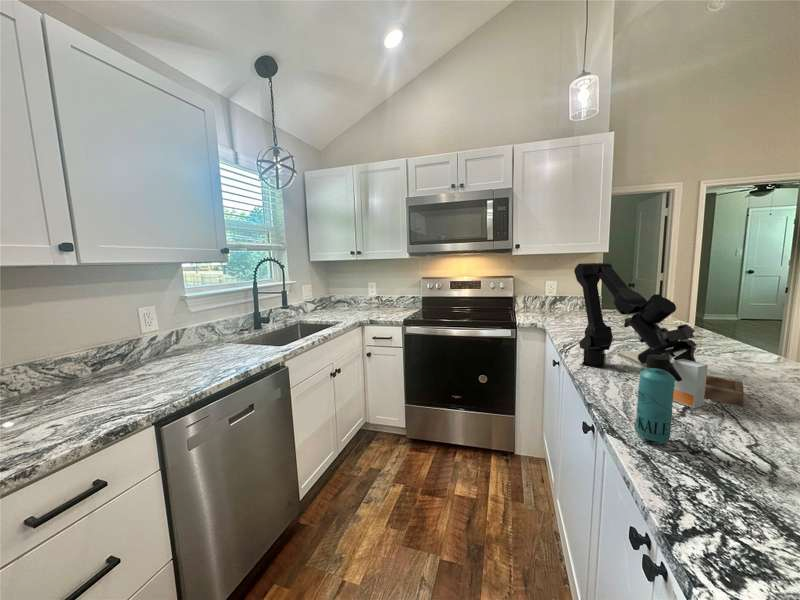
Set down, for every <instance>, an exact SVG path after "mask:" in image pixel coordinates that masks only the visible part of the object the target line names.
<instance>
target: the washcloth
mask: <svg viewBox="0 0 800 600" xmlns="http://www.w3.org/2000/svg"><path fill="white" fill-rule="evenodd" d="M645 350H646V349H645ZM645 350H633V351H618V352H617V353H616V356H617V357H619V358H622V359H623V358H624V360H626V361H627V362H630V363H633V364H634V365H637V366H639V367H641V368H643V369H644V370H645V369H647V368H651V367H649V366H646V365H647V364H643V365H642V364H641V363H640V361H639V360H638V355H639V354H640V353H642V352H643V351H645ZM670 363H671V364H672V365H674V361H673V360H672V359H670Z"/></svg>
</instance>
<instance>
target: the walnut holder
mask: <svg viewBox="0 0 800 600" xmlns="http://www.w3.org/2000/svg"><path fill="white" fill-rule="evenodd" d="M743 382H744V381H743V380H737V379H733V378H726V377H718V376H715V375H714V376H713V375H707V376H706V385H705V395H704V398H706V399H705V400H708V399H710V401H713V400H714V401H715V402H719V403H723V404H728V405H733V406H738V407H743V406H744V398H745V393H744V384H743Z"/></svg>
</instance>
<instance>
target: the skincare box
mask: <svg viewBox="0 0 800 600" xmlns="http://www.w3.org/2000/svg"><path fill="white" fill-rule="evenodd" d="M695 361H696V360H695ZM695 361H690V360H686V359H679V360H674V361H673V362H674V365H673V367H674V368H675V369H676V371H677V372H678V374H679V375H680V377H681V378H682V381H680V382H678V381H676V380H675V383H674V394H673V402H675V401H676V402H675V403H677V402H678V404H680V405H683V406H685V405H686V407H688V406H689V408H691V407H692V408H691V409H693V408H696V409H698V408H697V407H699V408H702V407H704V403H705V399H704V395H705V385H706V376H707V374H708V364H706V363H702V362H697V361H696V362H695ZM701 406H702V407H701Z"/></svg>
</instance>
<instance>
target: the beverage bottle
mask: <svg viewBox="0 0 800 600" xmlns="http://www.w3.org/2000/svg"><path fill="white" fill-rule="evenodd" d="M670 360H671V359H669V358H668V357H665V356H661V355H648V357H647V361H646V364H647V365H648V366H651V367H654V368H647V369H645V368H644V369H643V370H642V371H640V372H639V381H638V382H639V383H638V389H637V395H636V396H637V402H636V403H637V405H636V409H635V411H636V416H635V423H634V426H635V432H636V434H637V435H639V437H641V438H643V439H645V440H649V441H652V442H657V443H665V442H668V441H669V440H670V439H671V433H672V427H673V424H672V422H673V404H674V403H673V402H674V401H673V394H674V383H675V378H674V377H673V376H672V375H671V374H670V373H669V372H667V371H665V370H662V369H668V368H670ZM656 368H661V369H656Z"/></svg>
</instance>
